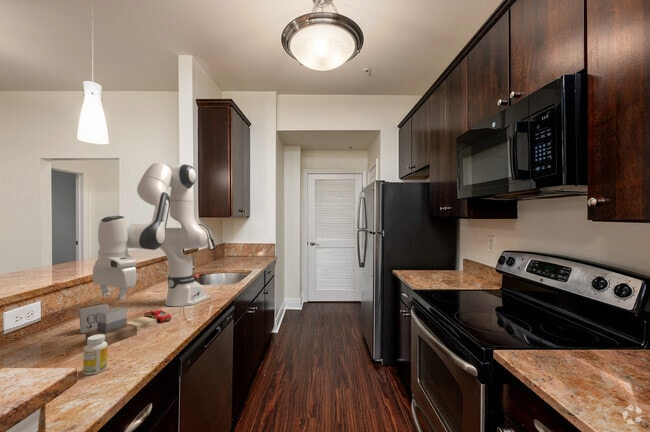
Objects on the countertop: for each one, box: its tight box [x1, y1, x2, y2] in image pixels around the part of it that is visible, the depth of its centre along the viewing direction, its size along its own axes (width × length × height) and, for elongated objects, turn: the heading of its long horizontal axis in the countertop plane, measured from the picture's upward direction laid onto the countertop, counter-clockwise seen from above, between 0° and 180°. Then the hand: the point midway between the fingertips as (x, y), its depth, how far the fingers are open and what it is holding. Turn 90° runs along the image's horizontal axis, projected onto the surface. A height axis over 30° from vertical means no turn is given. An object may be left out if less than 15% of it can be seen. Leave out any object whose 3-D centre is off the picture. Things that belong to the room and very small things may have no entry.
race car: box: [143, 309, 172, 324], centre depth 125 cm, size 13×5×4 cm, turn 64°
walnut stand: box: [84, 324, 138, 346], centre depth 105 cm, size 11×11×3 cm
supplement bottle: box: [82, 334, 109, 376], centre depth 82 cm, size 5×5×10 cm
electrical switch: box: [78, 303, 110, 335], centre depth 113 cm, size 9×5×9 cm, turn 141°
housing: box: [97, 306, 128, 334], centre depth 105 cm, size 5×7×7 cm
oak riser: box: [127, 316, 157, 332], centre depth 117 cm, size 8×8×2 cm
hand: (113, 297), depth 106 cm, fingers open, 8 cm apart
